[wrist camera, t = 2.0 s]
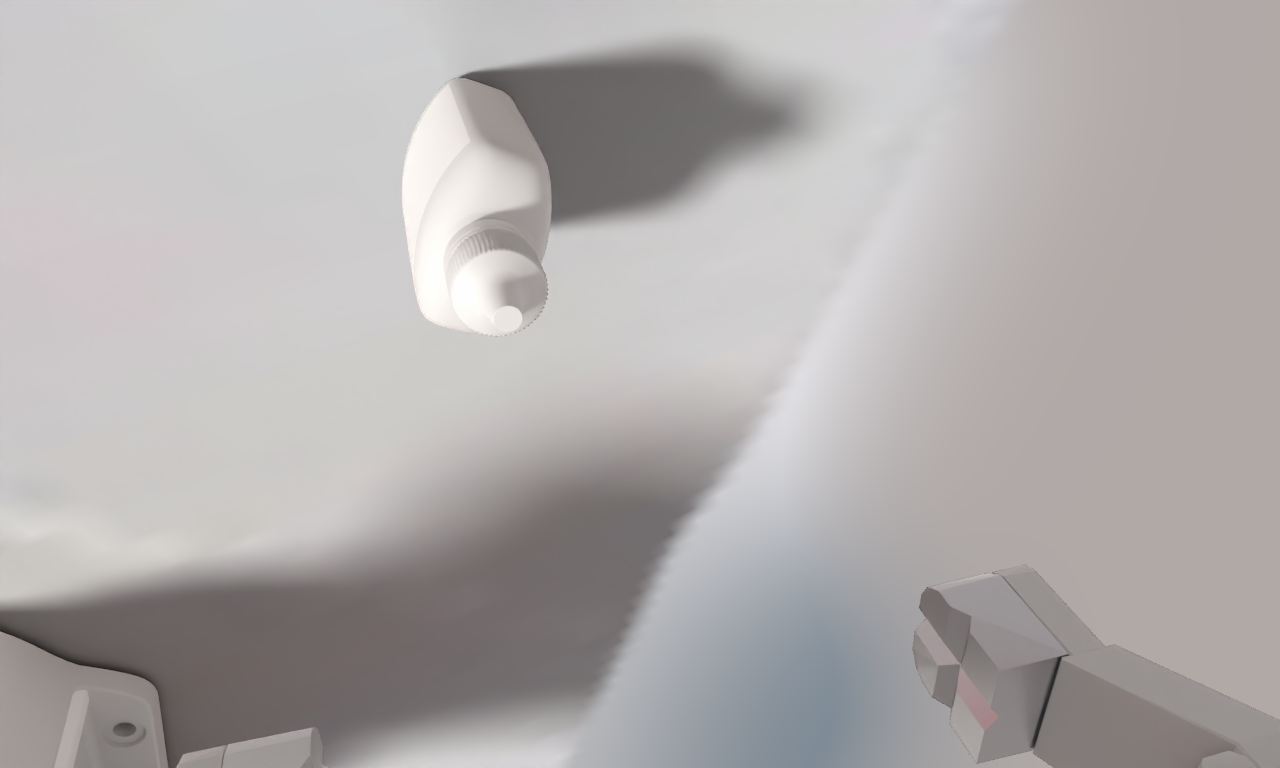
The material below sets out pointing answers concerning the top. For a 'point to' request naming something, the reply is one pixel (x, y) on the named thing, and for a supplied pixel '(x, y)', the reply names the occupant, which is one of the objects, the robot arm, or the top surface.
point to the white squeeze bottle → (476, 212)
